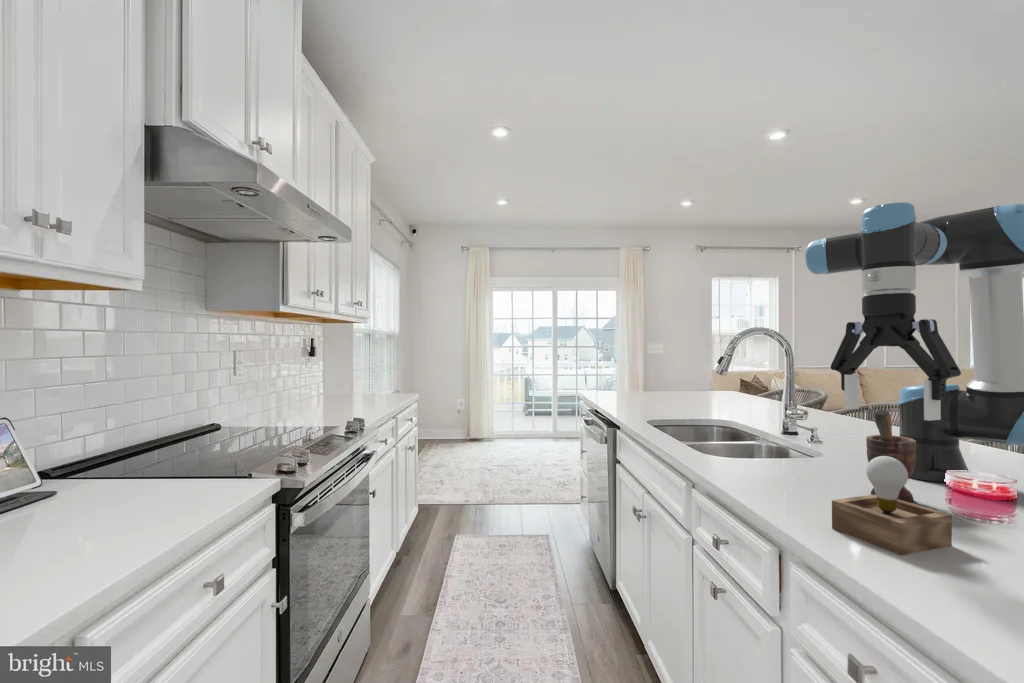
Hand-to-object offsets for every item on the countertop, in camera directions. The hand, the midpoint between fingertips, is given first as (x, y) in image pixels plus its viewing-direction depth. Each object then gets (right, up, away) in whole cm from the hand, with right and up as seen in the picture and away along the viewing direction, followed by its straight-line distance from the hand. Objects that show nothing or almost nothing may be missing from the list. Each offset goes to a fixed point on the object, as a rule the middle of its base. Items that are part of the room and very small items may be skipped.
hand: (889, 414), depth 86 cm
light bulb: (0, -18, 0) cm, 18 cm away
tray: (0, -22, 0) cm, 22 cm away
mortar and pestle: (+16, -22, +20) cm, 33 cm away
